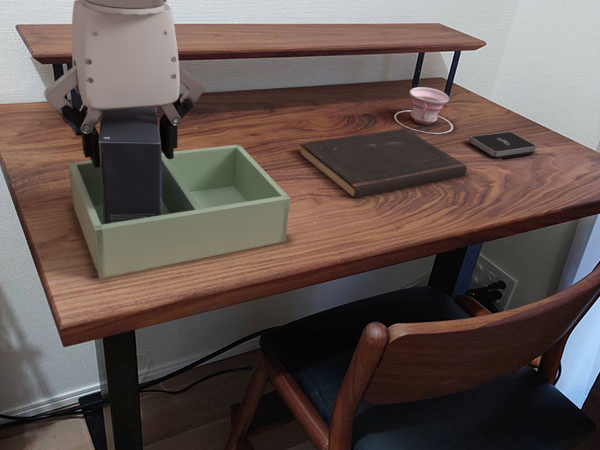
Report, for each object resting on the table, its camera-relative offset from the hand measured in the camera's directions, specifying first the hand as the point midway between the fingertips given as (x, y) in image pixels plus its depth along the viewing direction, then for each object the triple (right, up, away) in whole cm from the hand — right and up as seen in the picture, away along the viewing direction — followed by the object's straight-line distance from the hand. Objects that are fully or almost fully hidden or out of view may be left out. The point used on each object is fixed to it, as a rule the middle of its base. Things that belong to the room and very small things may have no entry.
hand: (131, 157), depth 62 cm
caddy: (+3, -8, +8) cm, 12 cm away
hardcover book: (+32, +2, +30) cm, 44 cm away
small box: (-1, -5, +3) cm, 7 cm away
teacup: (+44, +13, +50) cm, 67 cm away
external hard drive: (+57, +6, +43) cm, 71 cm away
